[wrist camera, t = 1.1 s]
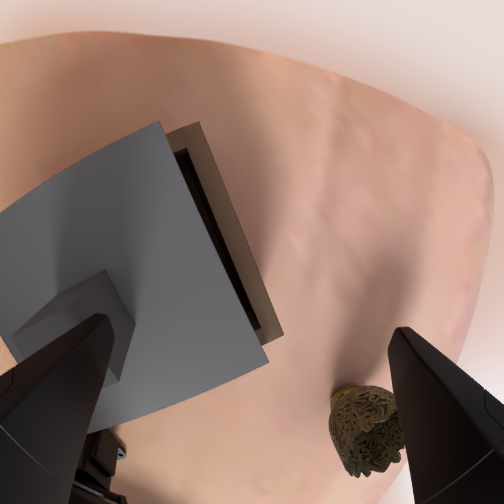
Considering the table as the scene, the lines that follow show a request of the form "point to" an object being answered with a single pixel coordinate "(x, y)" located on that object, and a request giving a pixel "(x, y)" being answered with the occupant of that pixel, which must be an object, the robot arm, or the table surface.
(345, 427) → the cup
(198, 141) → the walnut box
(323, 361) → the table surface
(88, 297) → the lid
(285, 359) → the table surface
